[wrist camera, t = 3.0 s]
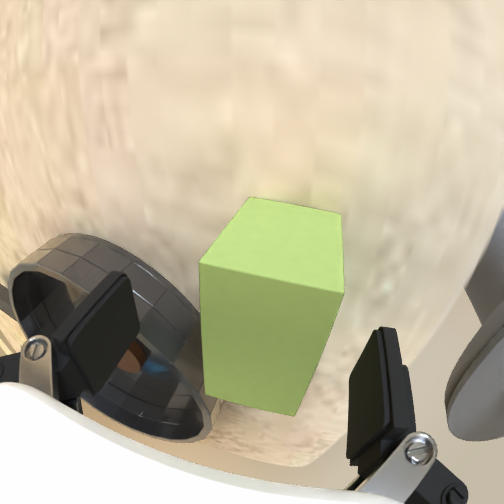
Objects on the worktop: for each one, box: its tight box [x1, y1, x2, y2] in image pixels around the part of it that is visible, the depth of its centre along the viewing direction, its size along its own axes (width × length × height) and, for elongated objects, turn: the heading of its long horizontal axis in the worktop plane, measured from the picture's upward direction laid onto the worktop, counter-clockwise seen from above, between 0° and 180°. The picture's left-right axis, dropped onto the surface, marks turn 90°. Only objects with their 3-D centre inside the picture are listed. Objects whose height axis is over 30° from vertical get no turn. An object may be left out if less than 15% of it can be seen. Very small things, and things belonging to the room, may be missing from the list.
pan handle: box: [0, 284, 17, 321], centre depth 22 cm, size 10×2×2 cm, turn 85°
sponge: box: [199, 197, 344, 416], centre depth 12 cm, size 4×7×6 cm, turn 175°
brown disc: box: [117, 341, 146, 373], centre depth 20 cm, size 4×4×1 cm
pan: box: [8, 234, 223, 443], centre depth 19 cm, size 19×19×4 cm
